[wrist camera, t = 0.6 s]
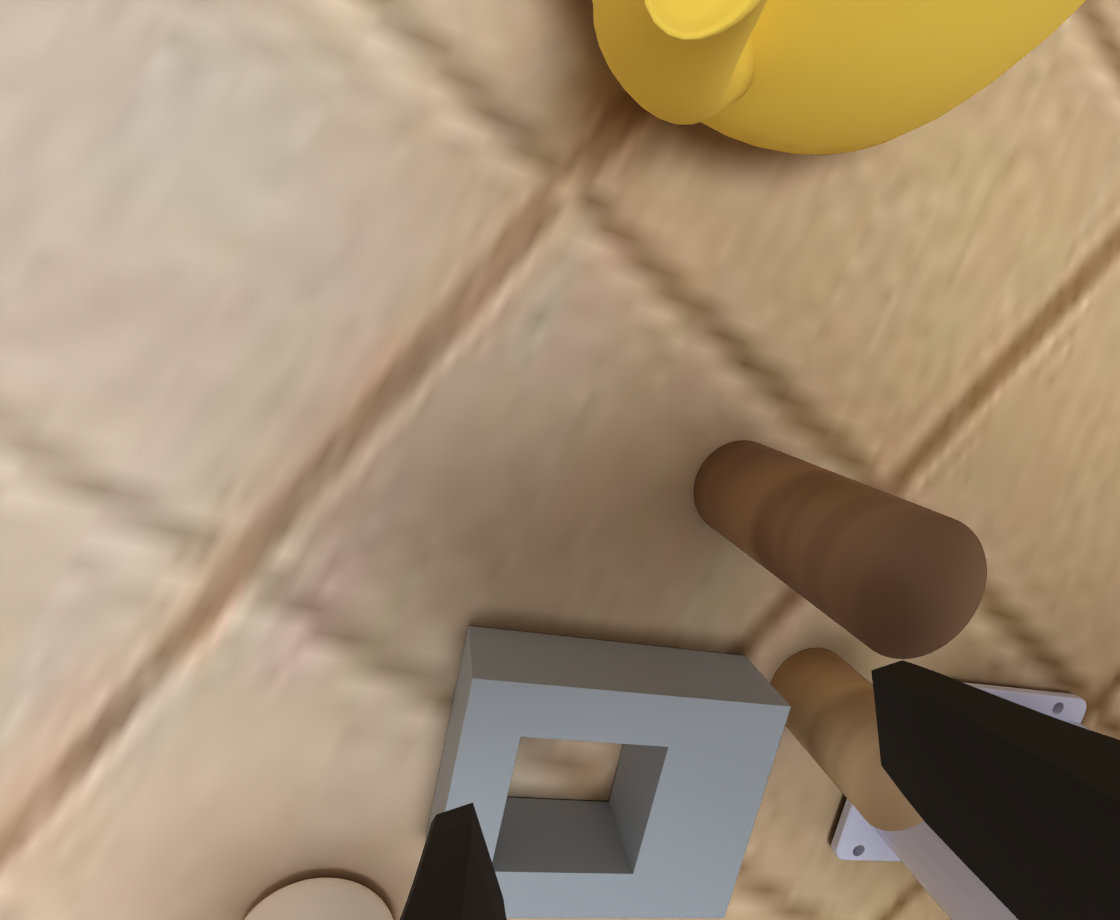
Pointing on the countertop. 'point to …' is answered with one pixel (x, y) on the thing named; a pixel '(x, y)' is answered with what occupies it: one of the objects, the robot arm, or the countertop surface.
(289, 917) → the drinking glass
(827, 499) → the walnut dowel
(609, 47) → the teapot
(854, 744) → the oak stub
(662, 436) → the countertop surface
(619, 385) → the countertop surface
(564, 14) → the countertop surface
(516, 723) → the socket block
